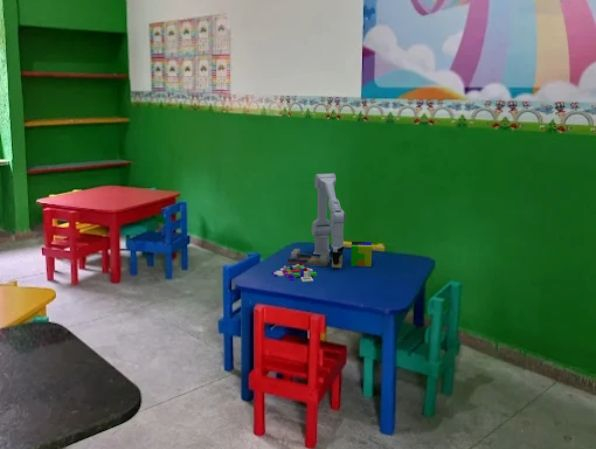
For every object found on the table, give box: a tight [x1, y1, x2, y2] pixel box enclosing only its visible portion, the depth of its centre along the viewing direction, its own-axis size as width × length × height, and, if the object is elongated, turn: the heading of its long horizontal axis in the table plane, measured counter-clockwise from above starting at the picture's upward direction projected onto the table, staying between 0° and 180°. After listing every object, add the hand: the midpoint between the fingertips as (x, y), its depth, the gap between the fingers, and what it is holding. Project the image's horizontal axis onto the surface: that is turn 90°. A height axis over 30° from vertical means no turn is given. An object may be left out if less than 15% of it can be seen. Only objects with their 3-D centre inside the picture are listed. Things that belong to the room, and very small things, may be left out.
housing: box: [331, 255, 343, 269], centre depth 307 cm, size 4×4×5 cm
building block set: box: [270, 263, 318, 283], centre depth 295 cm, size 25×20×4 cm
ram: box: [290, 248, 301, 259], centre depth 315 cm, size 8×3×4 cm, turn 167°
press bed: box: [286, 250, 332, 268], centre depth 314 cm, size 12×20×6 cm, turn 77°
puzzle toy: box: [350, 241, 373, 267], centre depth 311 cm, size 10×10×10 cm
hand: (337, 262), depth 307 cm, fingers open, 7 cm apart
